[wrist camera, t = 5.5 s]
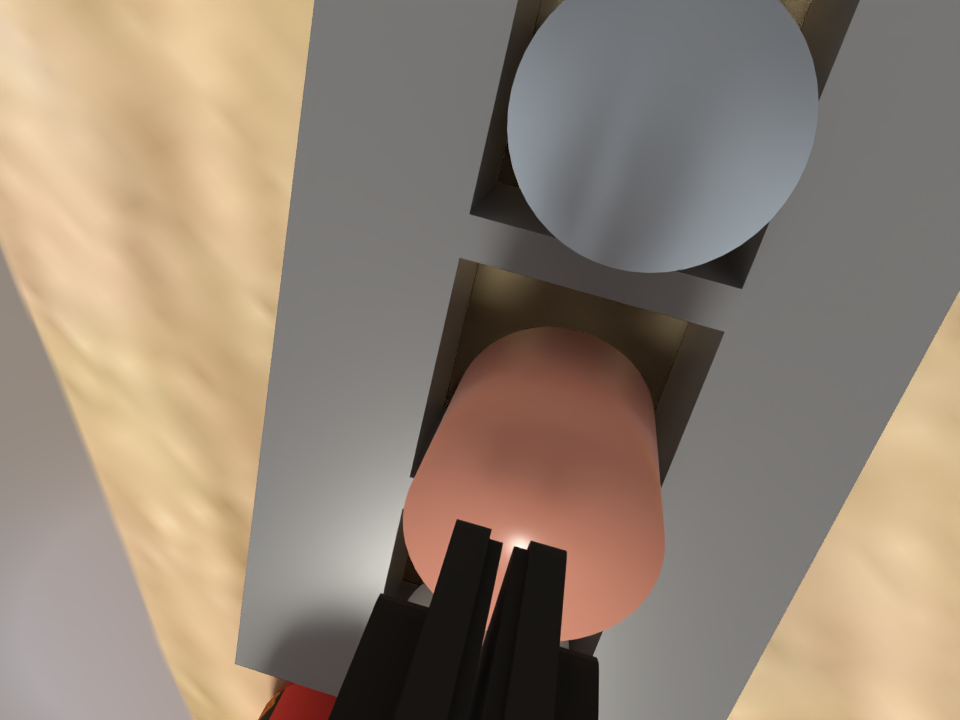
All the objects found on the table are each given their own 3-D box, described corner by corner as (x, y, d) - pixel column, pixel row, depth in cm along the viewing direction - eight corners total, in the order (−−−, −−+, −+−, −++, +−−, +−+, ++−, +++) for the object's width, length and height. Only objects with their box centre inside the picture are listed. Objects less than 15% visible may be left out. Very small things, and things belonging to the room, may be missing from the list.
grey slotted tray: (1030, -41, 16) (1151, -64, 12) (671, 698, 26) (679, 807, 22) (405, -191, 17) (344, -254, 13) (288, 578, 26) (235, 664, 23)
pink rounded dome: (683, 360, 16) (705, 470, 12) (618, 527, 18) (617, 671, 14) (478, 302, 16) (430, 389, 12) (436, 473, 18) (382, 598, 14)
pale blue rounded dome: (802, 11, 14) (874, 0, 10) (716, 238, 16) (747, 304, 12) (571, -46, 15) (550, -80, 10) (514, 183, 16) (478, 231, 12)
